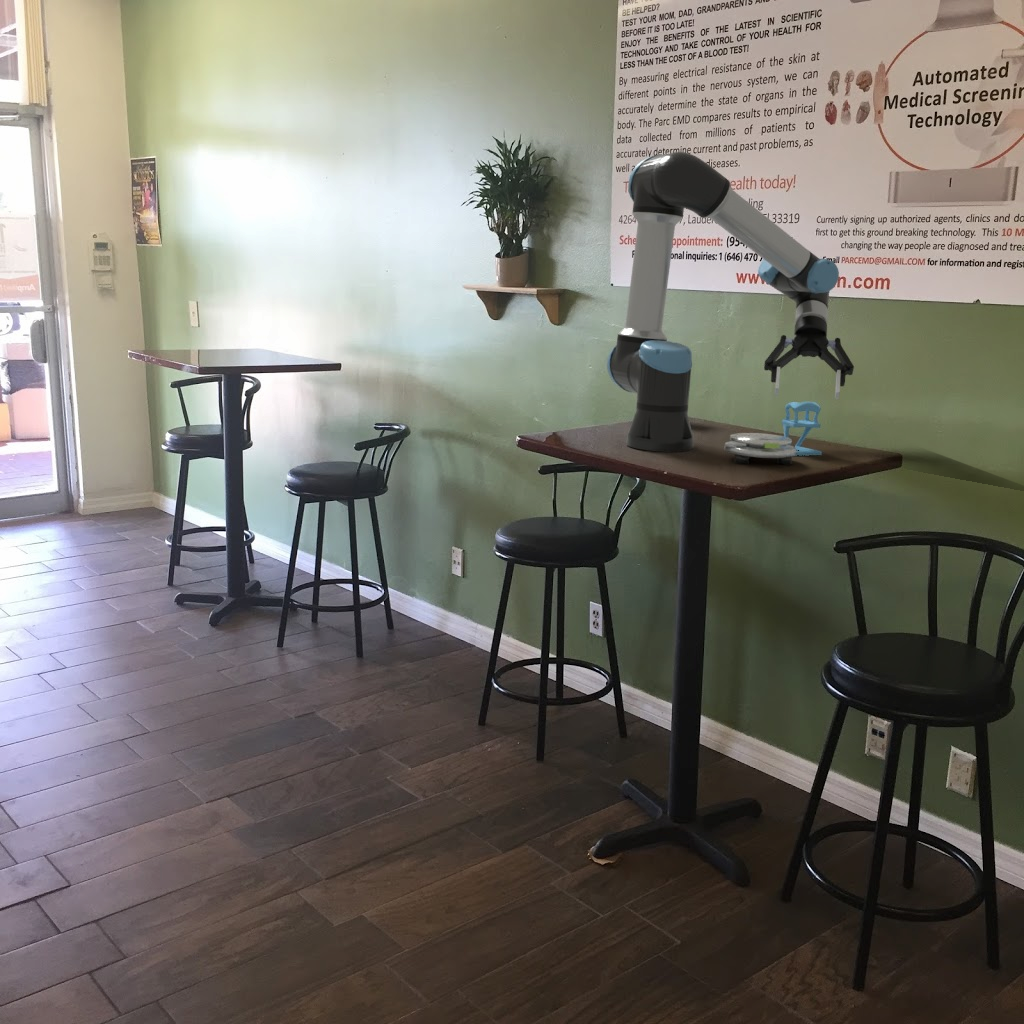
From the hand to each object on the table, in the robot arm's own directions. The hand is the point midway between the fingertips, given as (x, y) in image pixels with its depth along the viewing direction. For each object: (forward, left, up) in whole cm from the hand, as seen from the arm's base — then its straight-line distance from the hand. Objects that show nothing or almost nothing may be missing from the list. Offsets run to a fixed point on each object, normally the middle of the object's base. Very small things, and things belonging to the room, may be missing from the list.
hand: (806, 394), depth 246 cm
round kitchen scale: (-17, -18, -12) cm, 28 cm away
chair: (-4, -7, -13) cm, 15 cm away
